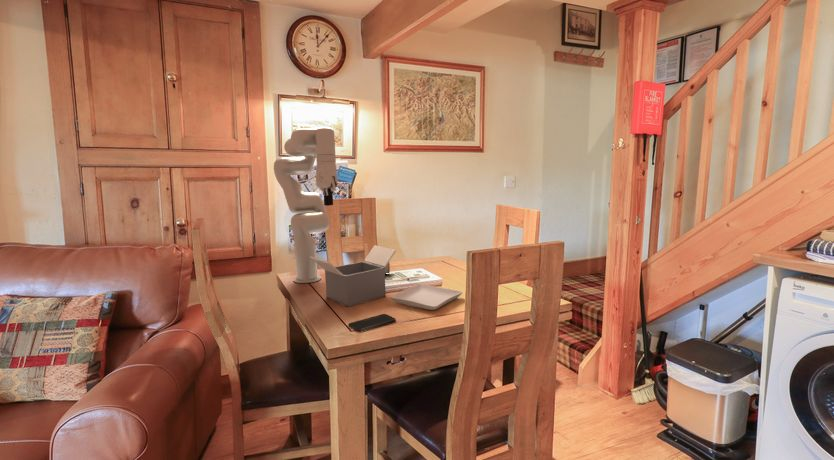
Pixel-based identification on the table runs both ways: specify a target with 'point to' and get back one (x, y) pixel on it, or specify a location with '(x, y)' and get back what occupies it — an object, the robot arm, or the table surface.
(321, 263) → the flap
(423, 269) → the table surface
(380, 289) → the carton
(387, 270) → the ceramic mug
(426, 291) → the salad plate
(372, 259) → the flap
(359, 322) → the phone
